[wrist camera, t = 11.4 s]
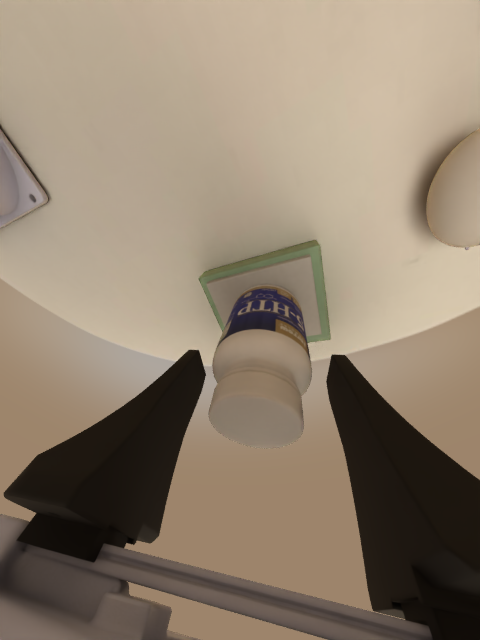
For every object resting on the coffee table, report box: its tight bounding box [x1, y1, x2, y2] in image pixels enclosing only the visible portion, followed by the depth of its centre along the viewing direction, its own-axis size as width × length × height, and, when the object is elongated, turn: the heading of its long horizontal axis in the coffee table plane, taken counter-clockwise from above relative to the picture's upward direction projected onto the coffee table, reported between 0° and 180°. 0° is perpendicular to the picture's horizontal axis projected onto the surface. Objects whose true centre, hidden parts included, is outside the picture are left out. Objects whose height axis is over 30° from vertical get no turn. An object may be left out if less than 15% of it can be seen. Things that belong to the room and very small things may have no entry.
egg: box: [426, 129, 480, 250], centre depth 10 cm, size 4×6×4 cm, turn 21°
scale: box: [199, 240, 331, 343], centre depth 16 cm, size 9×8×2 cm
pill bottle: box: [209, 284, 312, 448], centre depth 12 cm, size 5×5×9 cm
